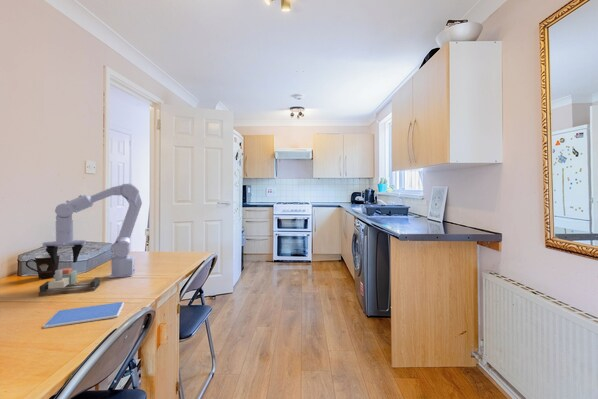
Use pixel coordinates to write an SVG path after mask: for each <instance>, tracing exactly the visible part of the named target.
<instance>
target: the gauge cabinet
mask: <svg viewBox="0 0 598 399" xmlns="http://www.w3.org/2000/svg"><path fill="white" fill-rule="evenodd" d="M77 273H78V272H77V270H73V269H72V272H71V273H69V274H62V278H69V284H76V282H78V279H77V277H78V275H77ZM53 279H55V275H54V278H53ZM69 284H68V285H69Z"/></svg>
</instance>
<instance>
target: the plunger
mask: <svg viewBox="0 0 598 399" xmlns="http://www.w3.org/2000/svg"><path fill="white" fill-rule="evenodd" d="M60 270H62V274H69V273H71V272H72V271H73V269H72V267H67V268H61V269H60Z"/></svg>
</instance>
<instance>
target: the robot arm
mask: <svg viewBox="0 0 598 399" xmlns="http://www.w3.org/2000/svg"><path fill="white" fill-rule="evenodd" d="M140 195H141V194H140V191H139V189H138V187H136V185H134V184H133V183H122V184H119V185H115V186H111V187H109V188H106V189H104V190H102V191H99V192H96V193H95V194H92V195H87V194H83V195H82V194H80V195H78V197H76V198H73V199H70V200H65V203H64V202H63V203H60V204H58V205H57V206H56V207H55V210H54V213H55V214H56V215H55V241H54V240H53V241H43V242H42V248H45V251H46V252H47V254H49V255H50V257H51V259H52V262H53V264H56V263H57V254H58V249H59V248H58V247H71V246H72V247H71V251H72V263H77V262H78V257H79V255H80V252H81V250H82V248H83V247H84V246H86V245H87V240H86V239H85V240H84V239H81V240H78V239H77V240H75V239H74V220H73V214H74V213H78V212H82V211H84V210H86V209H89V208H91V207H93V205H94V203H96V202H98V201H101V200H103V199H106V198H109V197H112V196H122V197H123V198H125V200H126V202H127V203H128V204H129V206H128V208H127V211H126V214H125V216H124V220H123V222H122V224H121V228H120V230H119V233H118V236H117V237H116V240H115V242H114V243H113V244H112V245H111V247H110V249H111V252H112V255H111V256H110V257H111V258H110V259H111V260H110V262H111V264H110V266H111V267H110V268H111V269H110V270H111V272H110V273H111V274H110V275H109V276H108V279H114V278H125V277H133V275H134V274H135V273H136V268H135V267H136V265H135V264H136V263H135V259H136V258H135V256H134V255H133V256H132V255H130V254H129V253H130V244H131V236H132V234H133V231H134V228H135V225H136V221H137V219H138V215H139V212H140V210H141V207H142V206H143V205H142V204H143V202H142V198H141V196H140Z"/></svg>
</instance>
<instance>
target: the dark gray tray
mask: <svg viewBox="0 0 598 399" xmlns="http://www.w3.org/2000/svg"><path fill="white" fill-rule="evenodd" d="M50 281H51V280H50ZM50 281H46V282H44V283H42V284H41V285H39V292H38V293H37V294H38V297H44V296H54V295H65V294H76V293H87V292H95V291H96V290H97V288H98V287H100V285H101V281H100V277H98V276H97V277H96V276H95V277H94V278H93V279H92V280H91V281H90V282H82V283H74V284H69V285H67V286H65V287H64V288H54V289H48V282H50Z"/></svg>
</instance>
